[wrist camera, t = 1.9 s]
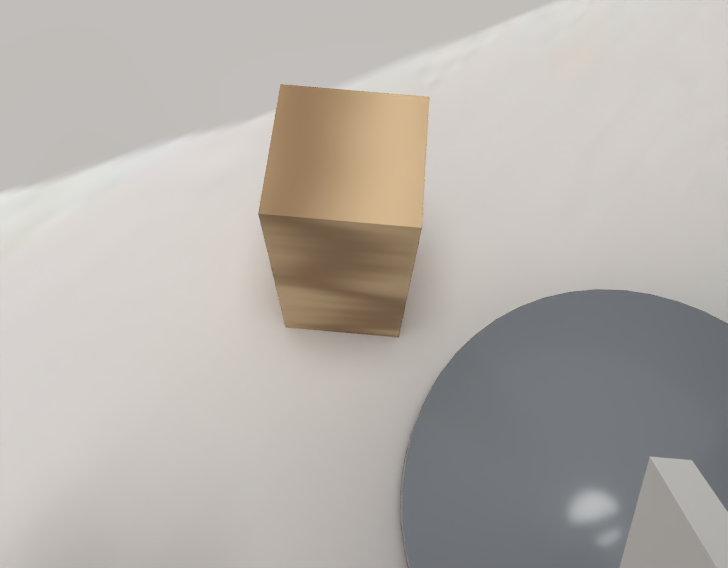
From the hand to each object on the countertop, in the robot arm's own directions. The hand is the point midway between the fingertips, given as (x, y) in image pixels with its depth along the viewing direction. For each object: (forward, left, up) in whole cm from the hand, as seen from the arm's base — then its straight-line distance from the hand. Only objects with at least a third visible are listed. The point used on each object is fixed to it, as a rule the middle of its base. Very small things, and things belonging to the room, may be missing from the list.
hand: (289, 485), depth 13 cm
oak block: (0, -11, -15) cm, 18 cm away
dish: (-12, -2, -15) cm, 19 cm away
